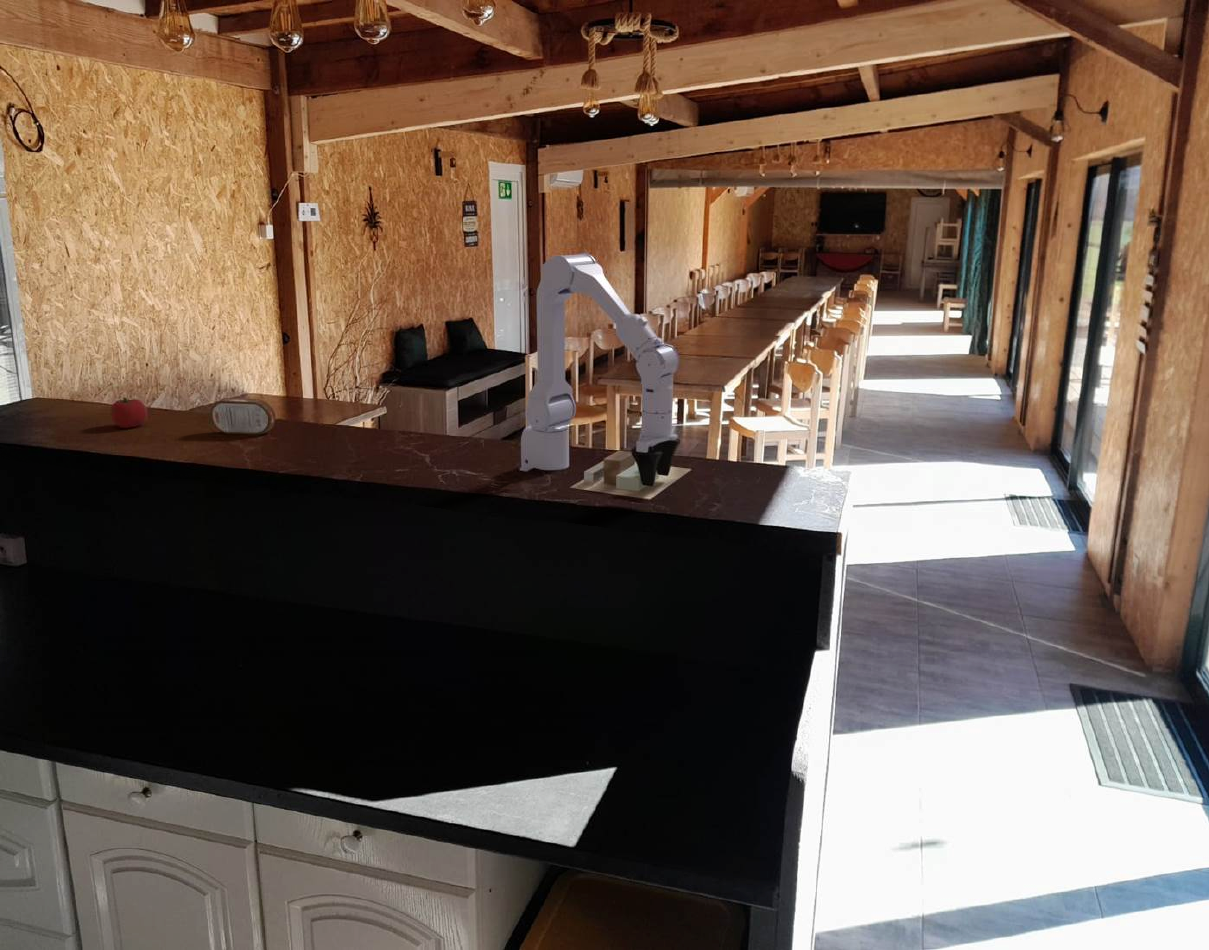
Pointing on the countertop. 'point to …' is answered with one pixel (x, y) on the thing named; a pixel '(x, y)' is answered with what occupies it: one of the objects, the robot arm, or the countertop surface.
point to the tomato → (128, 413)
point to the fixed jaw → (594, 474)
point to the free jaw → (631, 479)
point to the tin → (242, 416)
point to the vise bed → (644, 493)
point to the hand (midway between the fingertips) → (655, 480)
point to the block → (616, 465)
